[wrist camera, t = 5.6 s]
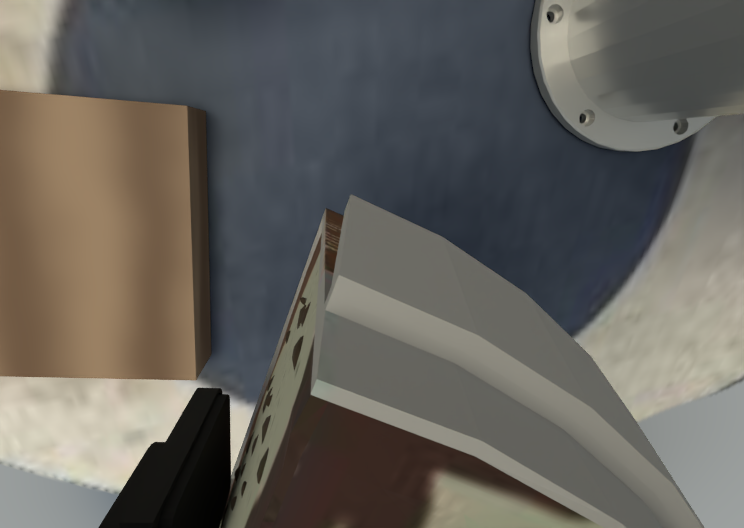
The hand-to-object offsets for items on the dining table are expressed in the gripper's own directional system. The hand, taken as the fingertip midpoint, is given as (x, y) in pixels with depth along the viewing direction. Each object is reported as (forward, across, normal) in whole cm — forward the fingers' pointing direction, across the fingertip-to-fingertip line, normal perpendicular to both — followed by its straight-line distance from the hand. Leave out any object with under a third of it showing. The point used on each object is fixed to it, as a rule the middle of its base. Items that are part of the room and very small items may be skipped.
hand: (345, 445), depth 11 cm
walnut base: (+15, +16, -1) cm, 22 cm away
